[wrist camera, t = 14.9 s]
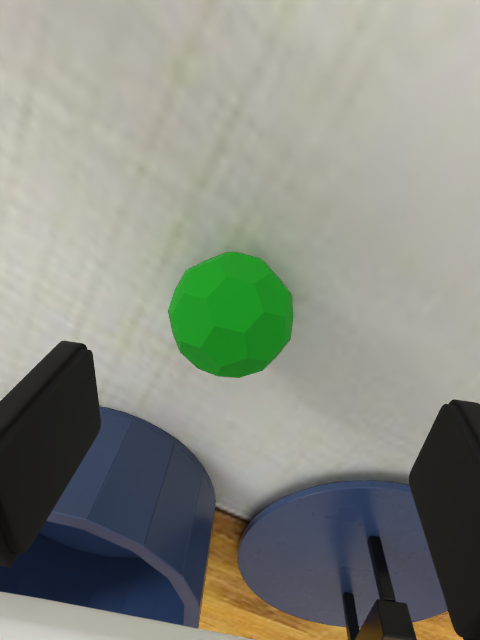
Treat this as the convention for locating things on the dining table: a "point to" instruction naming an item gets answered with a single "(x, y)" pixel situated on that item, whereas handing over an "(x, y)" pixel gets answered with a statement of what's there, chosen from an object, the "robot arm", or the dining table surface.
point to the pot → (125, 529)
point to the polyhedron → (231, 315)
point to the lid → (345, 559)
